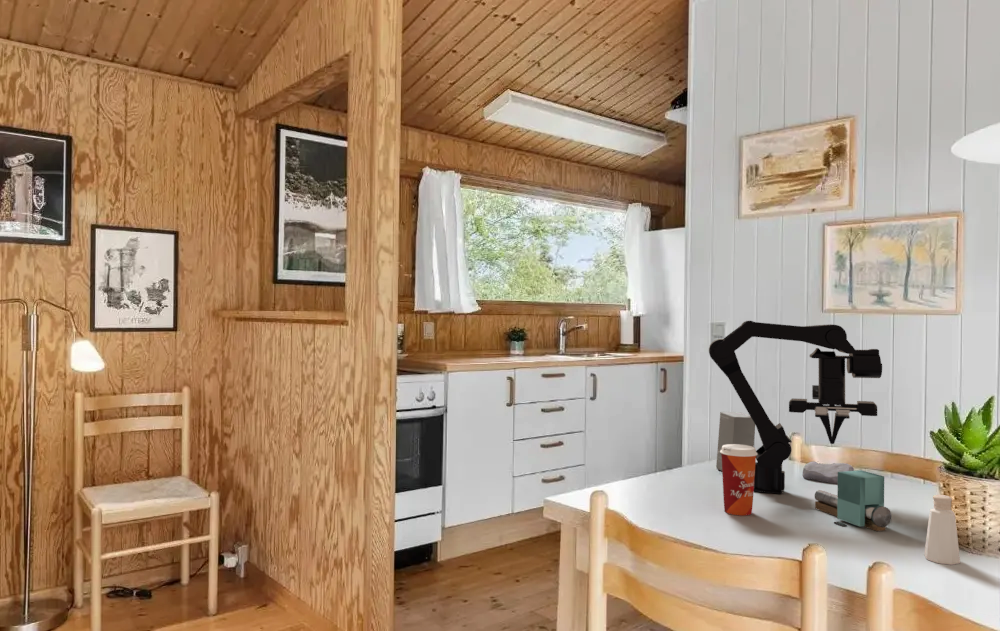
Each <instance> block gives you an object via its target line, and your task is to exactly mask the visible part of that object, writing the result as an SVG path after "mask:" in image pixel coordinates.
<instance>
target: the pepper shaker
mask: <svg viewBox="0 0 1000 631" xmlns="http://www.w3.org/2000/svg"><path fill="white" fill-rule="evenodd" d="M932 499H933V501H932V503H933V507H932V508H930V509H929V515H928V523H927V530H926V539H925V546H924V554H923V555H924V557H925V559H926V560H927V561H930V562H933V563H936V564H942V565H950V566H953V565H957V564H960V563H961V558H960V557H961V556H960V549H959V547H960V546H959V539H958V530H957V522H956V521H957V520H956V514H955V512H954V511H953V510H952V500H953V498H952V497H951V496H949V495H944V494H935V495H933V496H932Z"/></svg>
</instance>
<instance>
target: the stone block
mask: <svg viewBox="0 0 1000 631" xmlns="http://www.w3.org/2000/svg"><path fill="white" fill-rule="evenodd" d="M843 471H855V469H854V467H853V465H851V464H848V463H845V462H836V463H835V462H834V463H821V462H820V463H818V462H817V461H814V460H813V461H809V462H808V463H807V462H806V464H805V465H804V466H803V469H802V478H803V479H805V480H807V479H808V480H813V481H818V482H823V483H829V484H837V485H838V472H843Z"/></svg>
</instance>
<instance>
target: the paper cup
mask: <svg viewBox="0 0 1000 631" xmlns="http://www.w3.org/2000/svg"><path fill="white" fill-rule="evenodd" d="M756 451H757V450H756V447H752V446H748V445H740V444H727V445H723V446H722V449H721V450H720V453H721V456H722V471H721V472H722V474H721V476H722V493H723V508H724V510H723V511H724V512H725V513H727V514H729V515H731V516H732V515H733V516H743V517H744V516H750V515H752V513H753V502H754V492H755V491H754V477H755V462H757V460H756V455H758V454H757V452H756Z"/></svg>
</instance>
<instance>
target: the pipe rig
mask: <svg viewBox="0 0 1000 631" xmlns="http://www.w3.org/2000/svg"><path fill="white" fill-rule="evenodd" d="M837 498H838V494H837V495H836V494H833V493H831V492H827V491H825V490H821V489H818V490H816V491H815V493H814V499H815V502H814V503H815V505H814V506H815V509H816V510H818V511H821V512H823V513H827V514H829V515H832V516H835V517H837ZM891 521H892V511H891V509H890V508H888V507H886V506H884V507H883V506H877V507H875V508H873V507H870V506H868V505H865V526H863V527H864V528H868V529H869V530H873V531H876V532H883V531H886V528H887V526H889V525H890V523H891ZM833 524H835V525H837V526H840V527H842V528H843V527H848V524H845V523H843V522H841V521H834V522H833Z"/></svg>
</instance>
